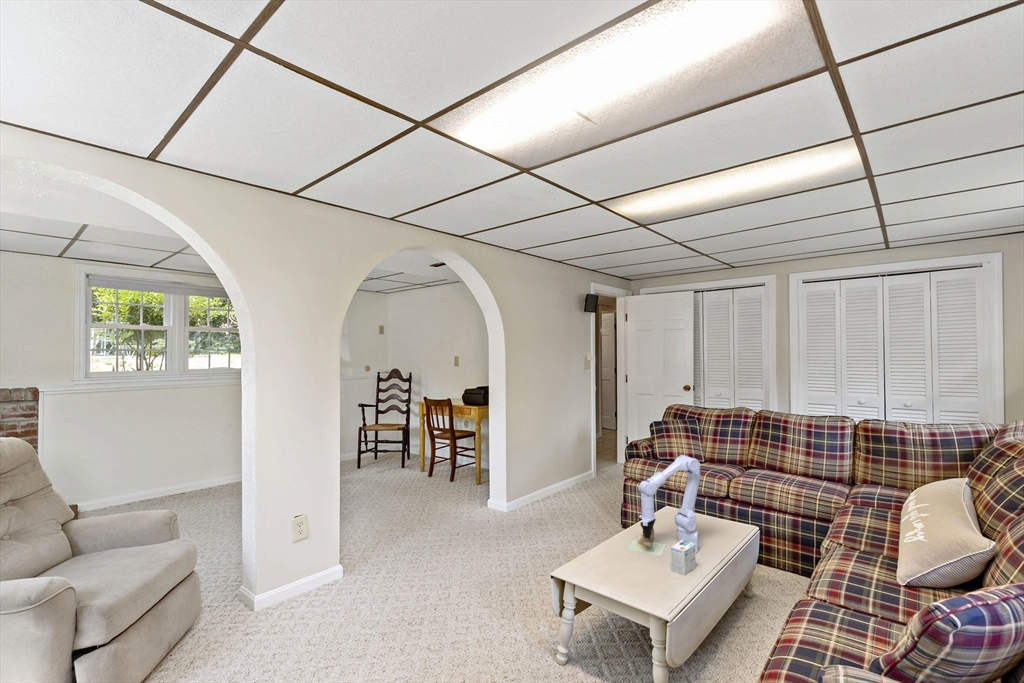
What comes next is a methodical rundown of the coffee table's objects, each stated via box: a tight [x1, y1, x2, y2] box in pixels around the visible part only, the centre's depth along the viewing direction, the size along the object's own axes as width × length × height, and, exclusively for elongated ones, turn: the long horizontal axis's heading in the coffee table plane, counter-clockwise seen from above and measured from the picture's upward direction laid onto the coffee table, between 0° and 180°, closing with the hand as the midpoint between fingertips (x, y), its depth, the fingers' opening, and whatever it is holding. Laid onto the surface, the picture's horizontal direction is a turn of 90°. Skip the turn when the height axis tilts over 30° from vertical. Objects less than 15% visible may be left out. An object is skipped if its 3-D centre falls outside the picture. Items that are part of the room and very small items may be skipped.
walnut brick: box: [642, 528, 655, 543], centre depth 226 cm, size 4×4×5 cm
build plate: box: [626, 538, 667, 556], centre depth 231 cm, size 16×14×1 cm
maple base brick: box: [636, 534, 652, 549], centre depth 233 cm, size 6×6×4 cm
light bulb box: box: [670, 540, 697, 576], centre depth 209 cm, size 11×7×11 cm, turn 135°
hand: (648, 536), depth 226 cm, fingers closed on walnut brick, 4 cm apart
